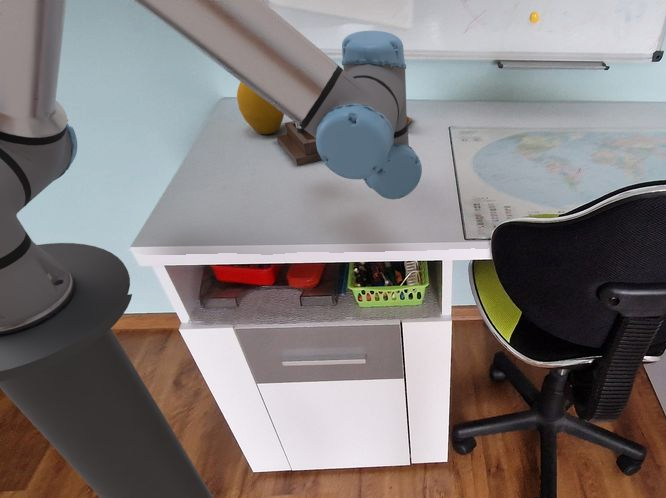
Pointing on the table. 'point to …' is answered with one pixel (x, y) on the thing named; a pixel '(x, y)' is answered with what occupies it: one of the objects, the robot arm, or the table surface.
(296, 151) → the pad base
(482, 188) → the table surface
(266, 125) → the apple
